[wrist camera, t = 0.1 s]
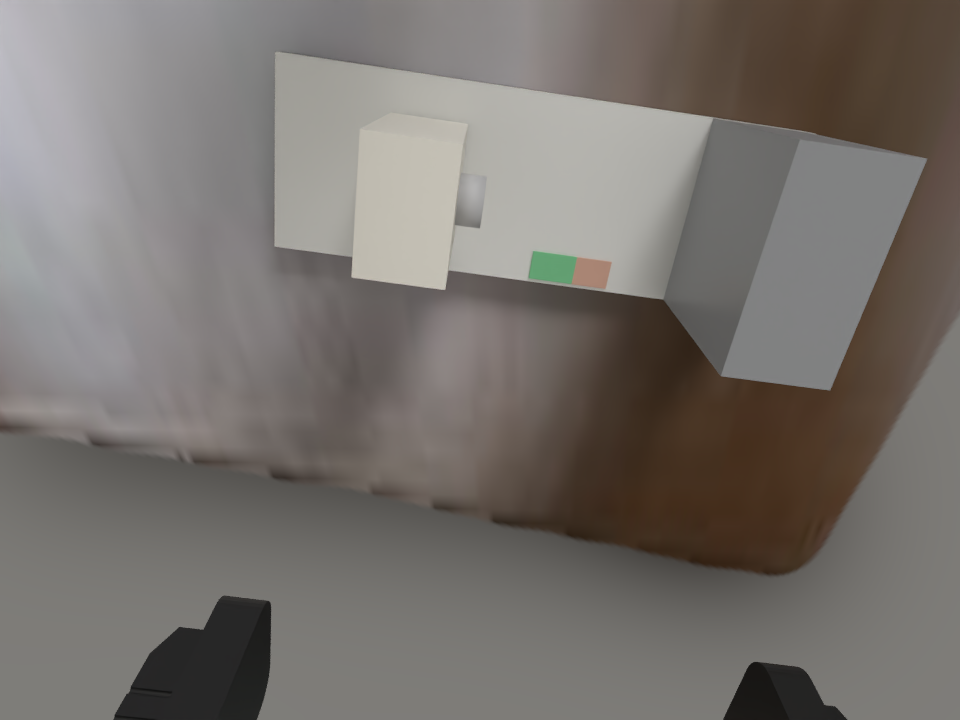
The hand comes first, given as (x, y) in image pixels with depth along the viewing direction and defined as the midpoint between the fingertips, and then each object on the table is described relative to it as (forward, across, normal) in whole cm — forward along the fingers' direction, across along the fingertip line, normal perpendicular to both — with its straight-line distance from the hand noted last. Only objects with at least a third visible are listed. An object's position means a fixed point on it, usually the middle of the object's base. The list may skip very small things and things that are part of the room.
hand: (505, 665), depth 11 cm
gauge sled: (+27, +4, -2) cm, 28 cm away
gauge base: (+29, -2, -3) cm, 29 cm away
